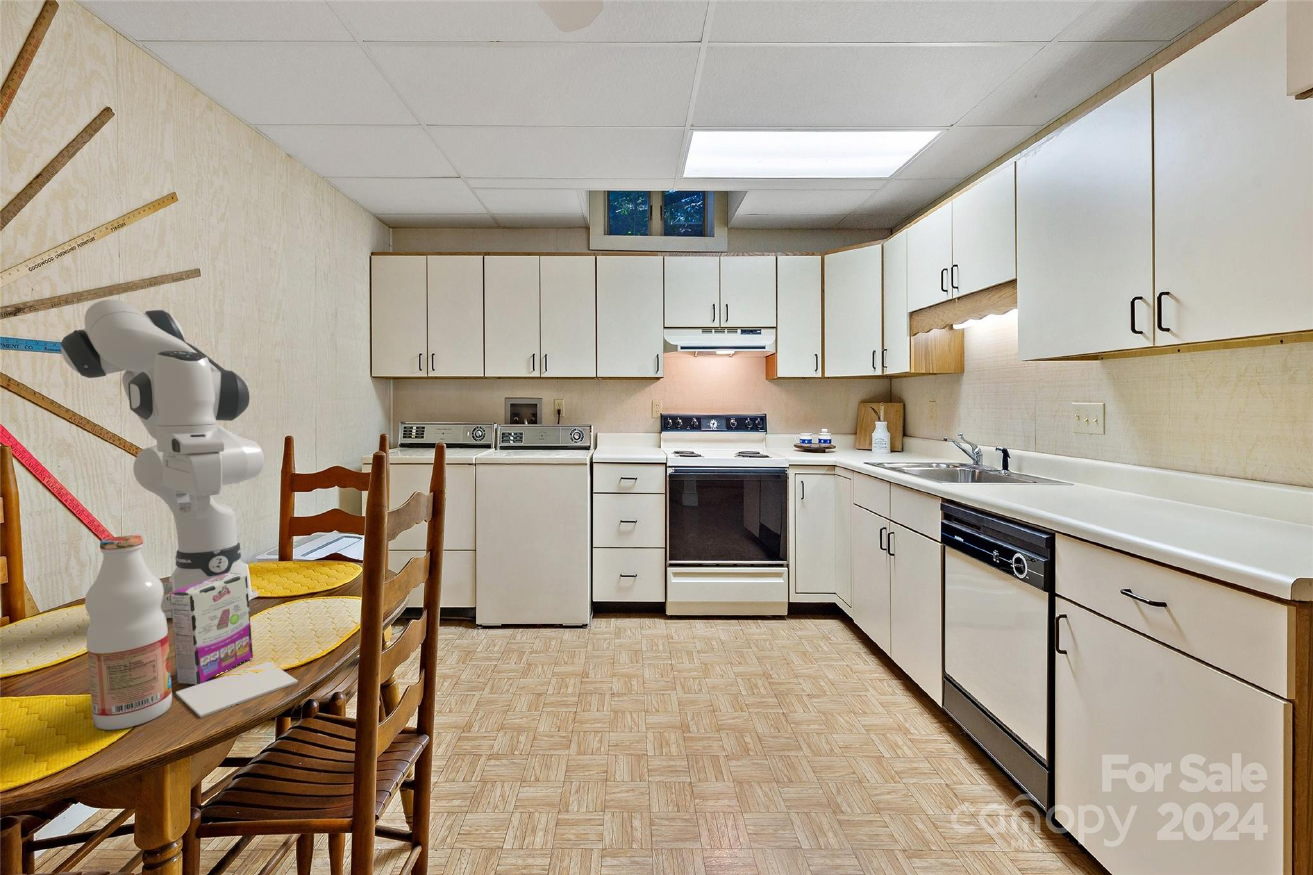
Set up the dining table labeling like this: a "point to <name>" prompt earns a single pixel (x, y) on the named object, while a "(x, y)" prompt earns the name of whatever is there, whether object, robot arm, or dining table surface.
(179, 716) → the dining table surface
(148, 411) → the robot arm
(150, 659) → the fruit juice
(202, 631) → the candy bar box
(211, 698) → the mat
